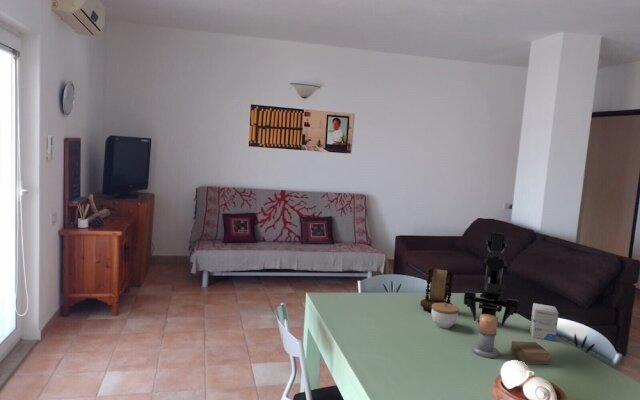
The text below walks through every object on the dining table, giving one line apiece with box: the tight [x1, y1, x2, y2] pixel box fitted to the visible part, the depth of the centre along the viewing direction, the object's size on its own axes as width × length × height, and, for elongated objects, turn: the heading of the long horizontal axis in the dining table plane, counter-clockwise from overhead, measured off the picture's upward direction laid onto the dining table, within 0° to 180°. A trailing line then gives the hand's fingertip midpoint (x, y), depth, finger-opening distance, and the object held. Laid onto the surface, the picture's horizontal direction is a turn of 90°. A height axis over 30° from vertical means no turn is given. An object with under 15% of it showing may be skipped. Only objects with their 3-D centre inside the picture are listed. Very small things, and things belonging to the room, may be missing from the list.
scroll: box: [420, 264, 454, 311], centre depth 204 cm, size 15×15×20 cm
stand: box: [510, 340, 551, 365], centre depth 160 cm, size 9×9×4 cm
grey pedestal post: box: [471, 330, 500, 359], centre depth 162 cm, size 9×9×8 cm
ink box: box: [529, 302, 559, 342], centre depth 183 cm, size 9×8×12 cm
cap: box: [478, 314, 499, 335], centre depth 161 cm, size 8×6×5 cm
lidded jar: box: [430, 303, 460, 329], centre depth 186 cm, size 11×11×9 cm
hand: (488, 323), depth 162 cm, fingers open, 9 cm apart
